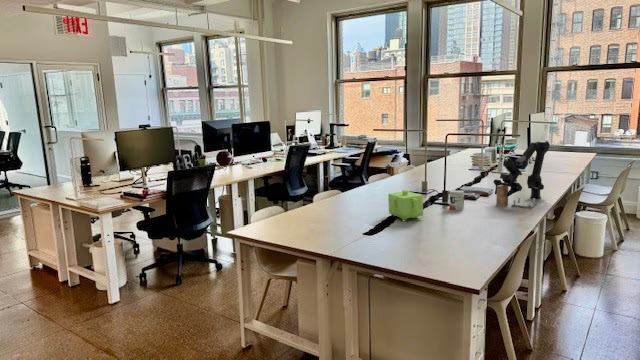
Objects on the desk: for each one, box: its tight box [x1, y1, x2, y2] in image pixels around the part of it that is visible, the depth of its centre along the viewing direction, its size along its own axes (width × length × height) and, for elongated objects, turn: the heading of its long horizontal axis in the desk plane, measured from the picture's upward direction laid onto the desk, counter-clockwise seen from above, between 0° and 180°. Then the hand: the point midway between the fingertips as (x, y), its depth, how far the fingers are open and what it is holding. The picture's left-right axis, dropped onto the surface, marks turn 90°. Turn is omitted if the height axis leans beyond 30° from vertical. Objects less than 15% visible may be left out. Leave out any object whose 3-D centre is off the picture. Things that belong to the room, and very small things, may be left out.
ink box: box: [448, 189, 465, 211], centre depth 286 cm, size 9×5×12 cm, turn 62°
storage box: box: [387, 189, 424, 221], centre depth 271 cm, size 25×23×17 cm
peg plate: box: [511, 196, 538, 209], centre depth 287 cm, size 12×12×4 cm
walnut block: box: [495, 185, 509, 207], centre depth 289 cm, size 5×5×13 cm
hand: (501, 195), depth 288 cm, fingers open, 9 cm apart
